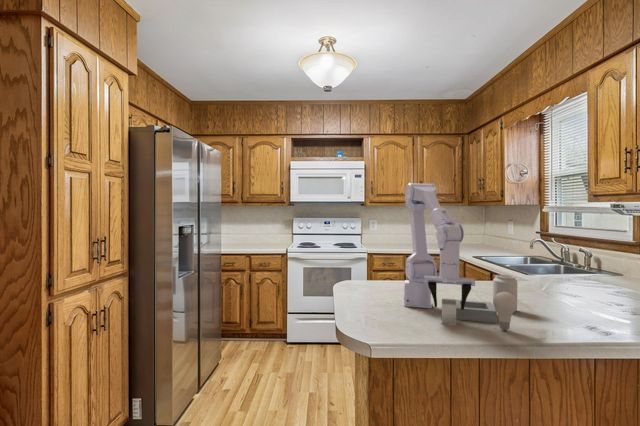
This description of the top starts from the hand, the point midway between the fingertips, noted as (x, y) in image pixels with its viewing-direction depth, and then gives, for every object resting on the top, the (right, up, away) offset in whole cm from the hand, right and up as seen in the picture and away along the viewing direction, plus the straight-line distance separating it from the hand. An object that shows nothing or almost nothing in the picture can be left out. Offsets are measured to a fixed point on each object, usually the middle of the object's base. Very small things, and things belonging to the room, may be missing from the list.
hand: (448, 307), depth 112 cm
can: (+24, -5, +14) cm, 29 cm away
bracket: (0, -5, 0) cm, 5 cm away
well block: (+11, -5, +7) cm, 14 cm away
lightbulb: (+13, -5, -7) cm, 16 cm away
